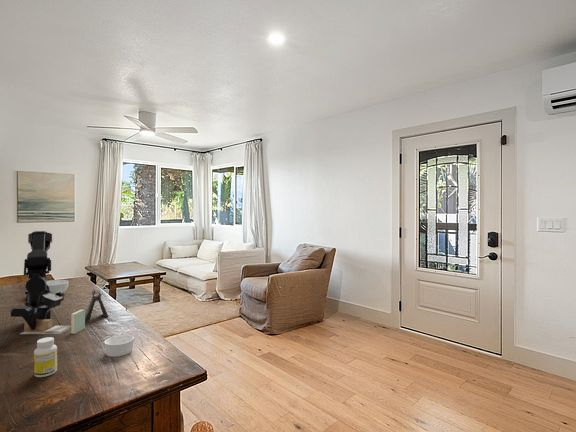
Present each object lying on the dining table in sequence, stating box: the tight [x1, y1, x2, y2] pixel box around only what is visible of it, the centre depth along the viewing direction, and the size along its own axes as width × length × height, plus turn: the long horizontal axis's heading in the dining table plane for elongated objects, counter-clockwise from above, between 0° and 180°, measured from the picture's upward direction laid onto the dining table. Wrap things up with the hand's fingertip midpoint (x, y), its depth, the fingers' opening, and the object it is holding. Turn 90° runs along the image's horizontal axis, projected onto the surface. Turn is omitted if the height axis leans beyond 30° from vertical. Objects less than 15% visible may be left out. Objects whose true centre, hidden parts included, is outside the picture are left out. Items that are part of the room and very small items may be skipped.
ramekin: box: [104, 334, 135, 358], centre depth 109 cm, size 9×9×4 cm
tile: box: [70, 309, 86, 335], centre depth 126 cm, size 2×6×8 cm, turn 1°
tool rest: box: [19, 331, 64, 335], centre depth 126 cm, size 15×7×1 cm, turn 91°
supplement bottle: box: [33, 336, 58, 378], centre depth 95 cm, size 5×5×10 cm
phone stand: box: [85, 289, 109, 322], centre depth 143 cm, size 9×6×12 cm, turn 123°
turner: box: [23, 318, 71, 334], centre depth 126 cm, size 15×6×4 cm, turn 91°
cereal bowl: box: [46, 279, 70, 294], centre depth 181 cm, size 17×17×7 cm
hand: (37, 327), depth 126 cm, fingers open, 4 cm apart
